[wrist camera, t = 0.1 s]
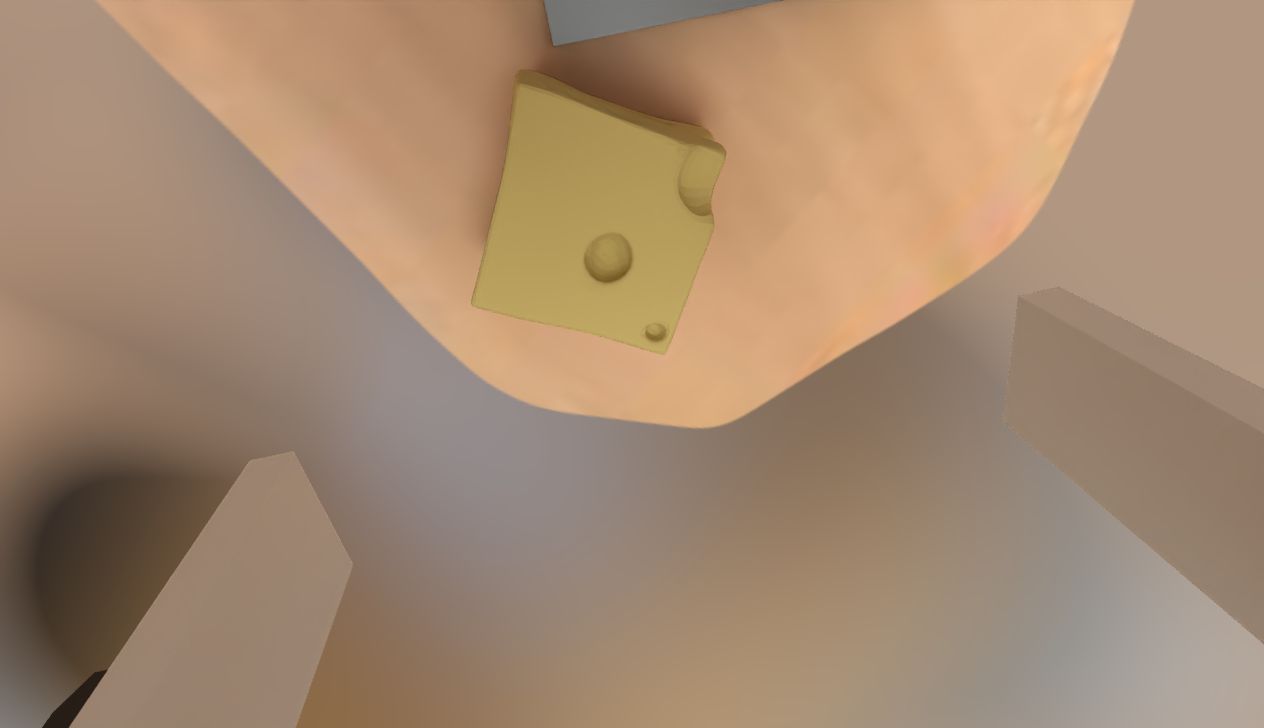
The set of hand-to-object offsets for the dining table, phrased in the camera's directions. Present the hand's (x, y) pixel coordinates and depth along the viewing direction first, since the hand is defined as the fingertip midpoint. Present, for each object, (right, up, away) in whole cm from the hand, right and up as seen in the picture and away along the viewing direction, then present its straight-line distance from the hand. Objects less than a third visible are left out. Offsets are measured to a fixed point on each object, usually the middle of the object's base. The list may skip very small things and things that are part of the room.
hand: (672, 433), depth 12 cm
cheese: (-3, +11, +26) cm, 28 cm away
